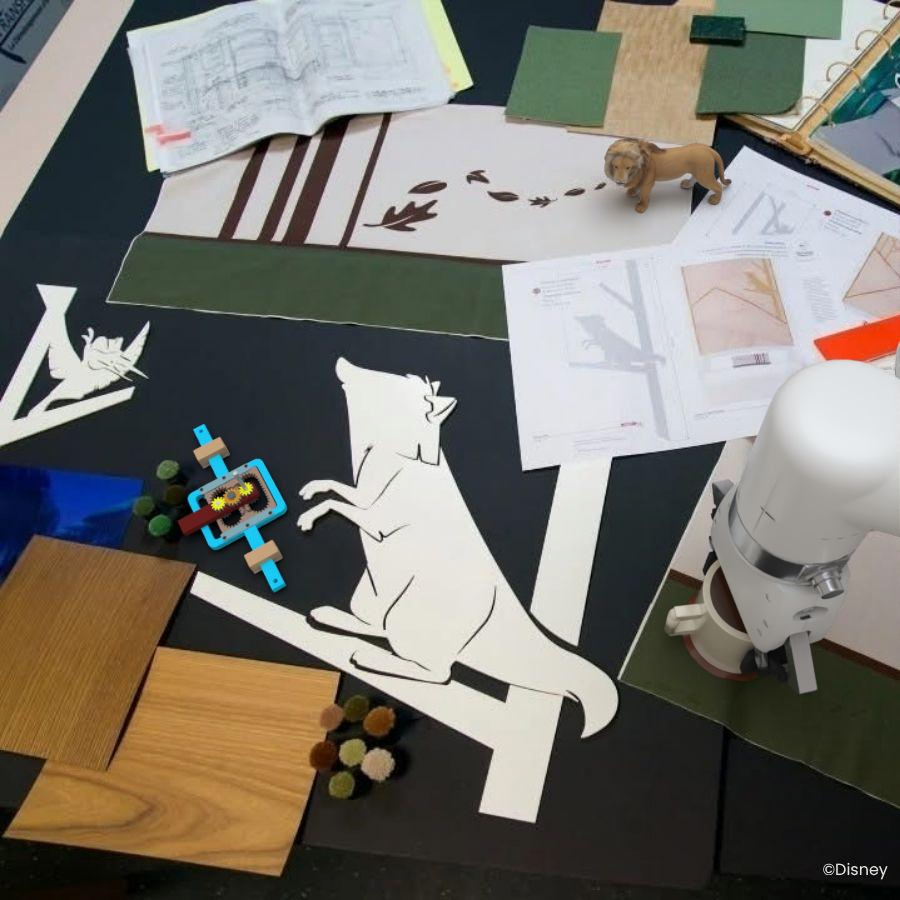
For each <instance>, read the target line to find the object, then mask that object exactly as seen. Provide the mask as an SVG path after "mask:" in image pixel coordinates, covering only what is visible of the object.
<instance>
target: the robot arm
mask: <svg viewBox="0 0 900 900" xmlns="http://www.w3.org/2000/svg"><path fill="white" fill-rule="evenodd" d="M894 370H895V371H894V372H895V374H893V373H891V372H890V371H888V370H886V369H884V368H882V367H879V366H877V365H876V364H875V365H874V364H872V363H870V362H869V363H868V362H865V361H861V360H853V359H829V360H823V361H818V362H815V363H812V364H809V365H806V366H805V367H803V368H801V369H799V370H797V371H796V372H795V373H793V374H792V375H790V376H788V378H787V379H786V380H785V381H784V382H783V383H782V384H781V385H780V386H779V387H778V389H777V390H776V391H775V393H774V395H773V397H772V399H771V401H770V403H769V405H768V407H767V410H766V412H765V415H764V417H763V420H762V422H761V425H760V427H759V430H758V433H757V435H756V437H755V441H754V443H753V446H752V448H751V451H750V453H749V456H748V458H747V460H746V464H745V466H744V469H743V471H742V474H741V476H740V478H739V480H738V481H737V482H736V483H734V482H732V480H730V479H729V478H726V479H722V480H717V481H713V482H712V483H711V490H712V499H713V500H712V501H713V504H714V506H715V507H713V508H712V509H711V513H710V517H711V520H712V523H711V527H710V535H709V536H708V544H709V547H710V549H711V551H708V554H707V557H706V559H705V561H704V564H703V567H702V568H701V569H702V570H701V571H702V573H703V576H704V577H705V576H706V573H707V571H708V570H709V568H710V567H711V566H712V564H713V563H714V562H715V561H717V560H718V559H719V562H720V565H721V567H722V570H723V573H724V575H725V578H726V580H727V583H728V585H729V588H730V591H731V593H732V596H733V598H734V601H735V603H736V606H737V608H738V611H739V613H740V616H741V618H742V620H743V623H744V625H745V628H746V630H747V632H748V635H749V637H750V639H751V641H752V643H753V644H754V646H755V649H752V650H749V651H748V652H747V654H746V655H745V657H744V659H743V660H742V662H741V663H740V667H739V668H740V671H741V673H740V674H741V675H746V674H747V675H748V673H749V674H750V673H751V674H752V672H753V673H754V672H755V673H756V675H758V676H757V677H758V678H760V677H761V678H766V677H769V676H774V678H775V679H776V680H777V681H778V682H779V683H780V684H784V683H785V684H787V687H788V688H789V689H790V690H791V691H792V692H794V693H795V694H796V695H797V696H802V695H806V694H811V693H815V692H817V691H818V684H817V679H816V674H815V668H814V662H813V655H812V651H811V644H813V643H816V642H819V641H821V640H823V639H824V638H825V636H827V634H828V632H829V631H830V630H831V628H832V627H833V626H834V623H835V622H836V620H837V618H838V617H839V615H840V613H841V610H842V609H843V606H844V603H845V600H846V598H847V595H848V591H849V587H850V582H851V581H850V580H851V570H850V568H849V564H848V562H849V561H850V560H851V557H852V556H853V554H855V552H856V550H857V549H858V548H859V546H860V545H861V544H862V543H863V541H864V540H865V538H866V537H868V535H869V533H870V532H871V531H874V532H878V533H882V534H886V535H890V536H894V537H898V538H900V341H899V342H898V344H897V348H896V351H895V359H894Z"/></svg>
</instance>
